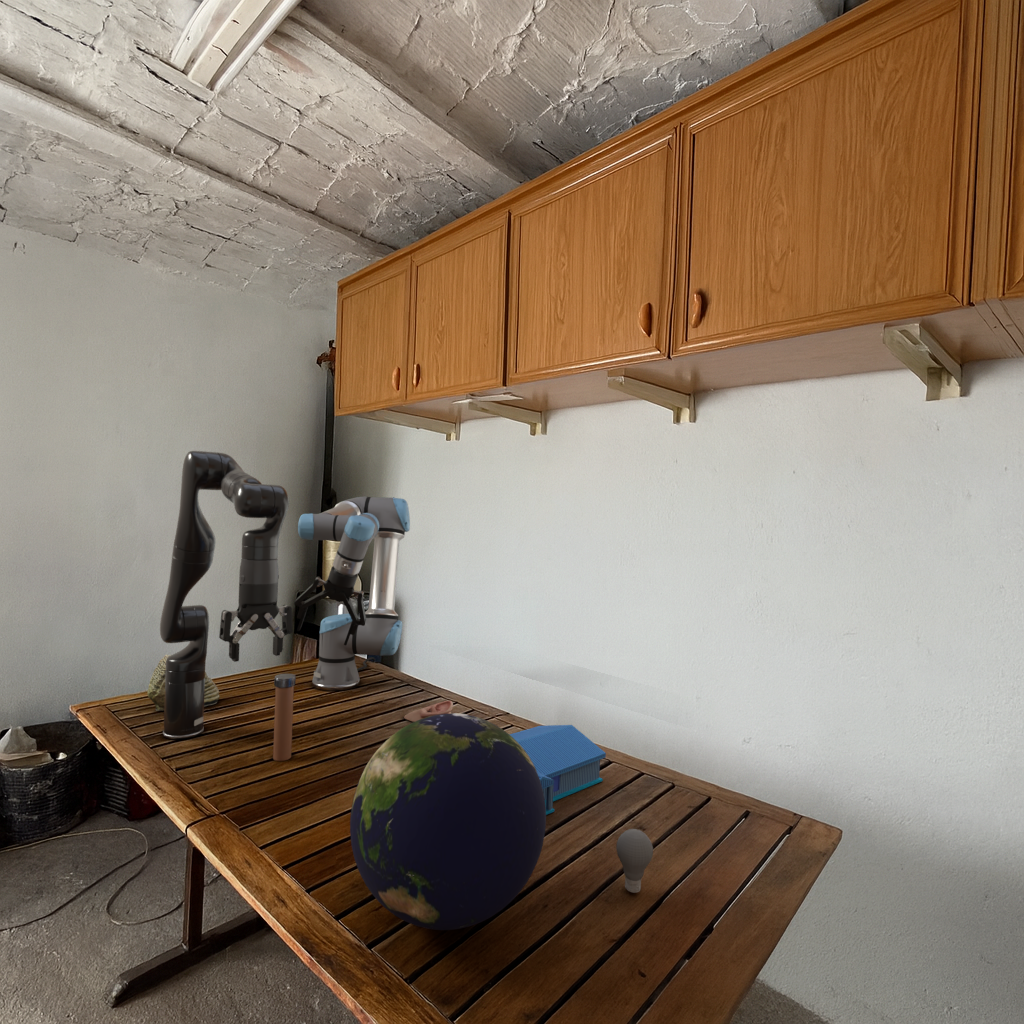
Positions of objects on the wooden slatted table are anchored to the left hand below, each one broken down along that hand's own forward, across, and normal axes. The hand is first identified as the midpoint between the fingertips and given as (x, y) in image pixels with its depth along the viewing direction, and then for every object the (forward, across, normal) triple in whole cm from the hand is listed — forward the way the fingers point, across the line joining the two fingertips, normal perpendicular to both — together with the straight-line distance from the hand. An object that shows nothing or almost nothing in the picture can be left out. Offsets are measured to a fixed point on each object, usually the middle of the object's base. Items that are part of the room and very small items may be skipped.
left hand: (256, 657), depth 132 cm
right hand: (+6, -33, -35) cm, 49 cm away
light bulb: (+29, -36, +71) cm, 85 cm away
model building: (+29, -46, +32) cm, 63 cm away
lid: (+10, -13, -15) cm, 23 cm away
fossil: (+29, -6, -67) cm, 73 cm away
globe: (+29, -9, +55) cm, 63 cm away
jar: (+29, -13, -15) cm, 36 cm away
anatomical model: (+29, -58, -17) cm, 67 cm away
